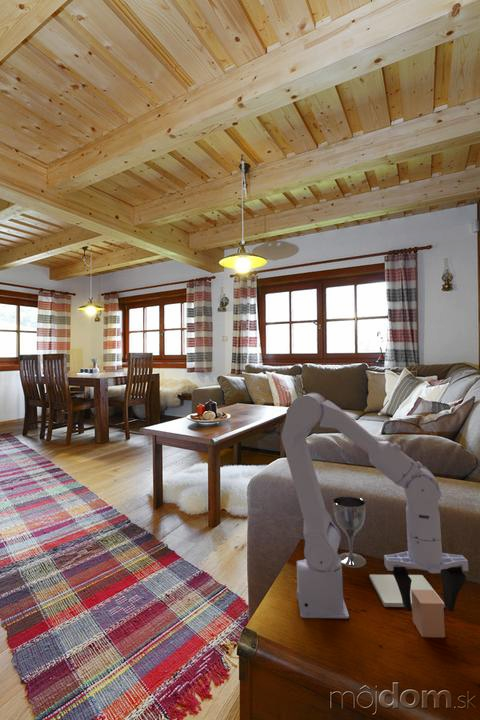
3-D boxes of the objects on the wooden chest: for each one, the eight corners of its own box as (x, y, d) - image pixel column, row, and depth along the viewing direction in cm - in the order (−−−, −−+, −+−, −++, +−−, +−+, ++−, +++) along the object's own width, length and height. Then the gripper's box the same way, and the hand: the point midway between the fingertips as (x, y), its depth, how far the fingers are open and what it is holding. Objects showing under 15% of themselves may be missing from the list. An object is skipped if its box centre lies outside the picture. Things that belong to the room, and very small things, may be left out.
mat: (384, 606, 71) (384, 602, 71) (369, 578, 81) (369, 574, 81) (444, 607, 70) (444, 603, 70) (422, 578, 80) (422, 575, 80)
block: (422, 637, 63) (420, 603, 63) (412, 621, 67) (411, 589, 67) (445, 637, 63) (443, 603, 63) (434, 621, 67) (432, 589, 67)
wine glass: (373, 559, 89) (370, 500, 90) (359, 572, 83) (356, 509, 84) (344, 549, 95) (342, 493, 95) (329, 561, 89) (327, 501, 89)
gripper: (392, 544, 62) (396, 622, 61) (476, 544, 61) (481, 623, 60) (379, 527, 69) (382, 596, 68) (454, 526, 68) (458, 597, 67)
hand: (427, 607), depth 65 cm, fingers open, 7 cm apart
